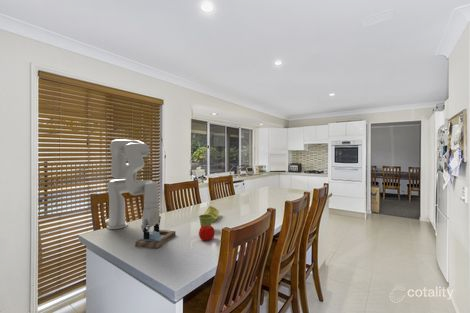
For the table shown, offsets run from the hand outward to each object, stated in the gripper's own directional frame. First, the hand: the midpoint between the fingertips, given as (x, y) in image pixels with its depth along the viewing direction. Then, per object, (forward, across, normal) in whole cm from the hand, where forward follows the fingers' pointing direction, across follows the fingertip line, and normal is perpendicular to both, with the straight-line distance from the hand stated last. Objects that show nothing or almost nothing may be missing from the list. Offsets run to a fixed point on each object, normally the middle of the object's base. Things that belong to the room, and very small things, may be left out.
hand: (151, 235), depth 128 cm
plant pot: (+5, -29, +21) cm, 36 cm away
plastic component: (+5, -52, +16) cm, 55 cm away
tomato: (+5, -13, +27) cm, 30 cm away
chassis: (+4, -5, 0) cm, 7 cm away
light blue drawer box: (+4, 0, 0) cm, 4 cm away
